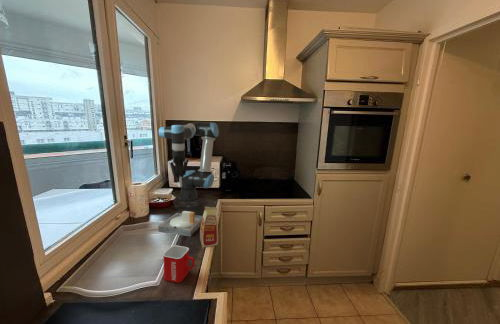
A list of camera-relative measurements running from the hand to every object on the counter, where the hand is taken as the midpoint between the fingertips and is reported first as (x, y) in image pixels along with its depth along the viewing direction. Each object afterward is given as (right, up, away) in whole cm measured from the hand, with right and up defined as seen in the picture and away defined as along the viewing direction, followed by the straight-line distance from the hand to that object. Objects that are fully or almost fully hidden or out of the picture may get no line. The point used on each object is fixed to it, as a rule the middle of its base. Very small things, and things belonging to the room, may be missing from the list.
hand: (179, 186), depth 139 cm
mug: (+17, -32, -50) cm, 62 cm away
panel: (+4, -24, -7) cm, 25 cm away
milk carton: (+23, -27, -23) cm, 43 cm away
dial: (+4, -21, -8) cm, 23 cm away
